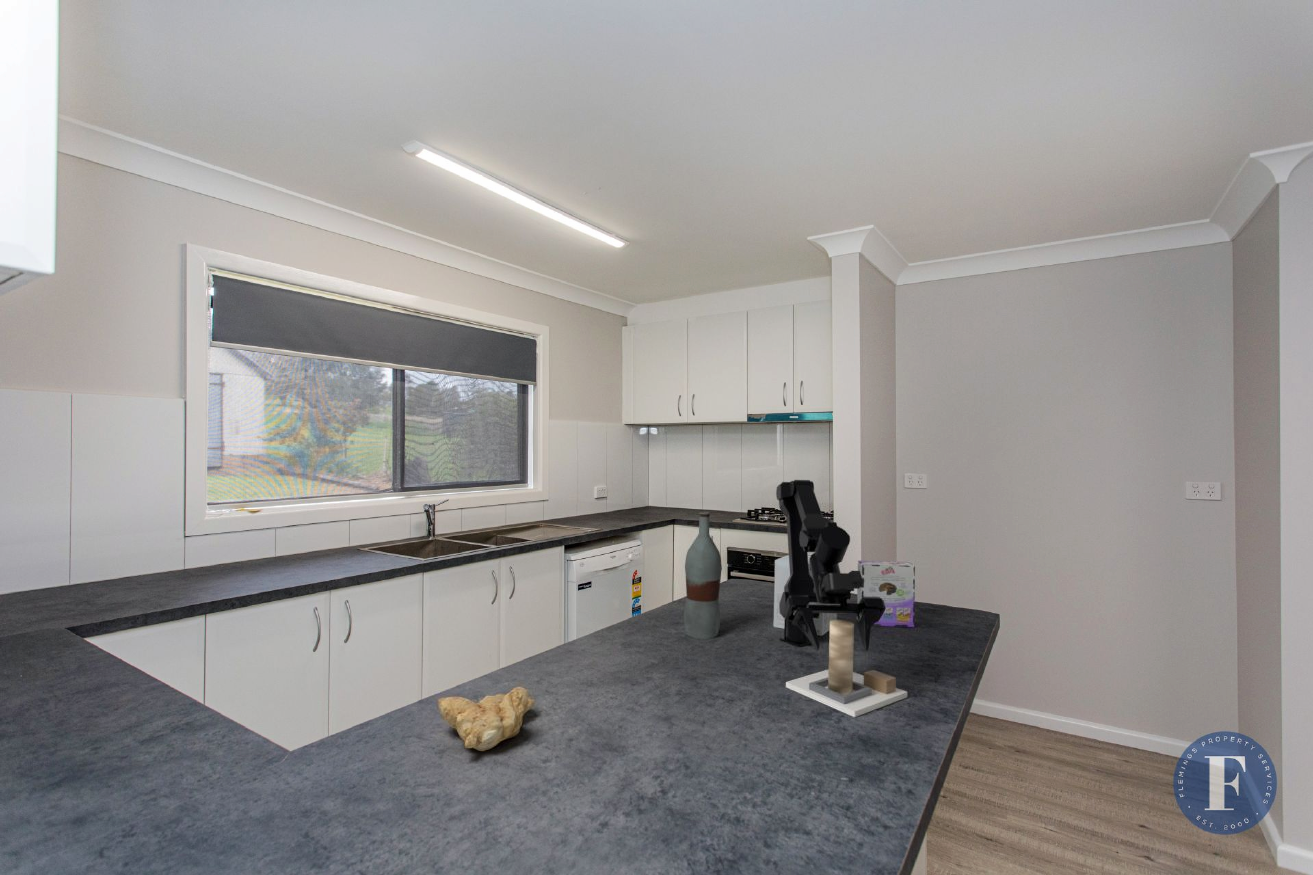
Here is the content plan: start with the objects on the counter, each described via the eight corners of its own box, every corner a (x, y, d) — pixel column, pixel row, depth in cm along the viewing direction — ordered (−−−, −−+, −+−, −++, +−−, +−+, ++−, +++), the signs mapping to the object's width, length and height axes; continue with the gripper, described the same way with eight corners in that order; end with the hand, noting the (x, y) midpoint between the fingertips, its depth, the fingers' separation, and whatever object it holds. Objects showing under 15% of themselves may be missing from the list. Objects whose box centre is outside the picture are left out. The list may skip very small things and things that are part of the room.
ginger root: (431, 759, 91) (435, 699, 93) (437, 736, 105) (440, 685, 107) (541, 751, 95) (543, 694, 97) (532, 731, 110) (534, 681, 112)
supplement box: (838, 624, 168) (839, 558, 168) (822, 636, 157) (824, 566, 157) (790, 615, 175) (791, 552, 175) (772, 627, 164) (773, 559, 164)
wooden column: (824, 692, 119) (826, 623, 119) (832, 685, 123) (833, 618, 123) (848, 698, 117) (850, 627, 117) (855, 690, 120) (856, 622, 120)
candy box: (908, 621, 172) (909, 561, 172) (914, 628, 166) (916, 565, 166) (855, 619, 174) (857, 559, 174) (860, 625, 168) (862, 563, 168)
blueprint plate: (785, 687, 124) (786, 669, 124) (838, 671, 133) (838, 654, 133) (854, 717, 111) (855, 697, 111) (907, 697, 120) (907, 678, 120)
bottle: (676, 630, 159) (679, 510, 159) (708, 626, 163) (711, 510, 163) (694, 641, 151) (697, 515, 151) (727, 637, 155) (730, 514, 155)
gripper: (788, 554, 124) (801, 627, 113) (883, 556, 124) (905, 629, 113) (779, 584, 132) (790, 656, 121) (868, 586, 132) (887, 658, 121)
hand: (842, 649), depth 119 cm, fingers open, 9 cm apart
